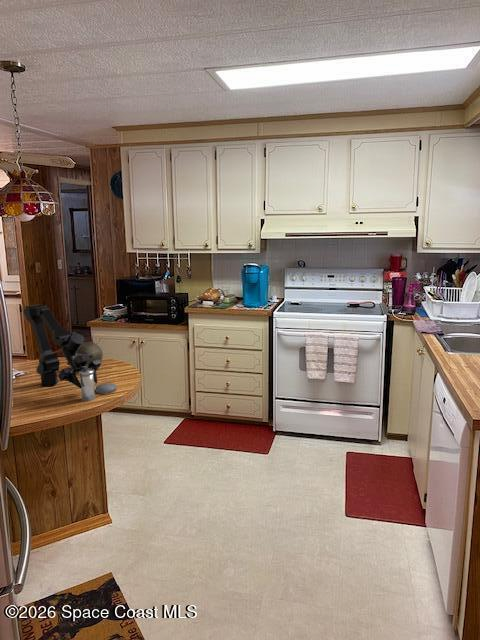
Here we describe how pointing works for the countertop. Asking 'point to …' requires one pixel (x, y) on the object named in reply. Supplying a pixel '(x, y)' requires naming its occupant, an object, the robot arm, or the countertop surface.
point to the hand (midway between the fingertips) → (89, 385)
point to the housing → (87, 384)
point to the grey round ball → (93, 349)
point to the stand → (105, 388)
